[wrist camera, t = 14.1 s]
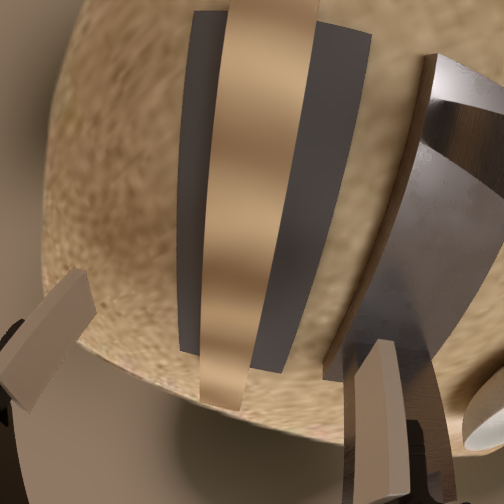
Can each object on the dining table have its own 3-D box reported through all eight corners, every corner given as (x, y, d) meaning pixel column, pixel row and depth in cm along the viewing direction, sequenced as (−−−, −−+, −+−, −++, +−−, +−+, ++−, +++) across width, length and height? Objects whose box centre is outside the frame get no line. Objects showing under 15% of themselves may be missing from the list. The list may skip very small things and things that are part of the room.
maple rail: (252, -3, 12) (235, -28, 8) (318, 6, 12) (322, -19, 8) (211, 364, 28) (199, 402, 24) (247, 373, 28) (239, 411, 24)
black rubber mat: (197, 12, 13) (194, 10, 13) (369, 36, 13) (371, 34, 12) (181, 346, 28) (179, 350, 28) (282, 368, 28) (281, 373, 27)
